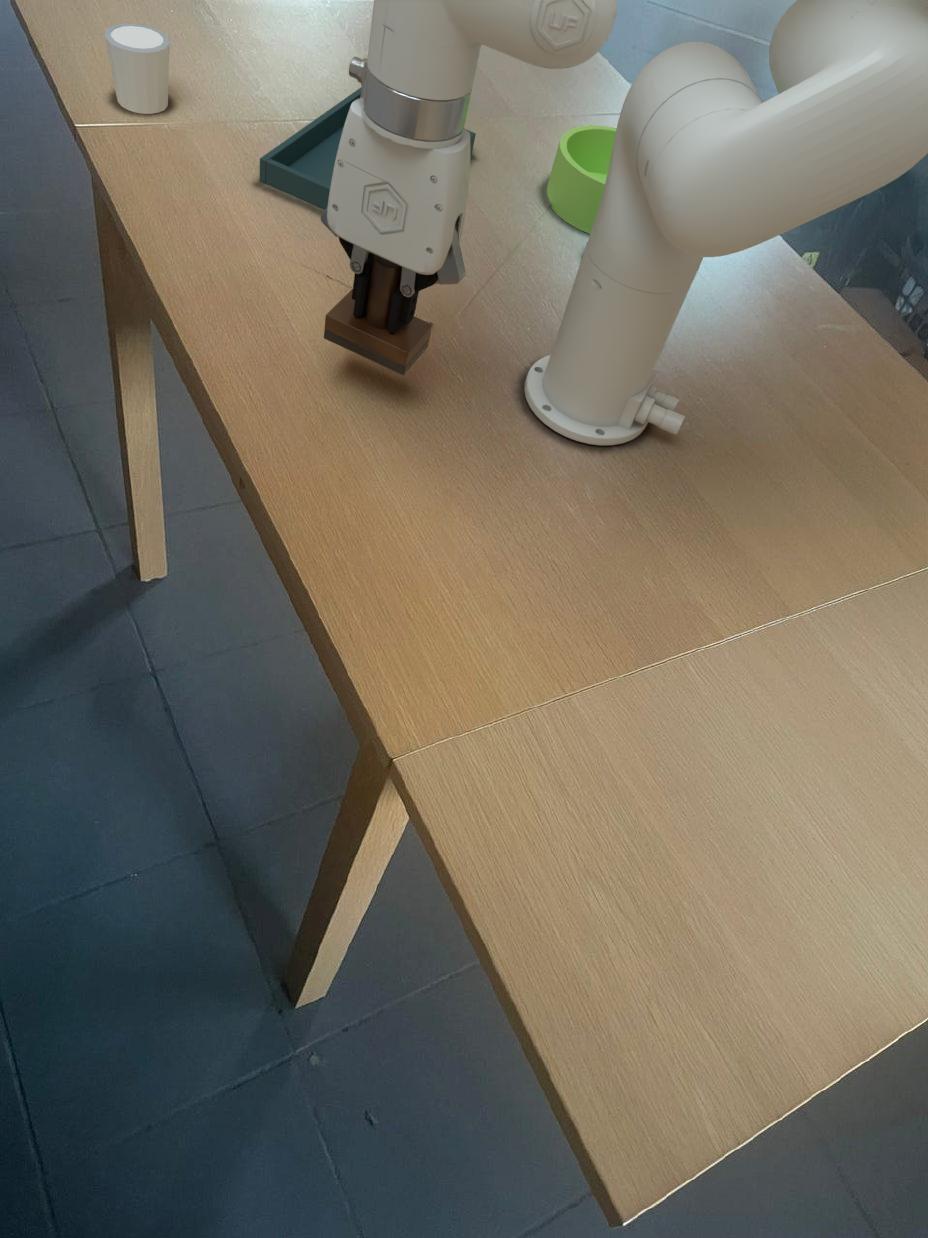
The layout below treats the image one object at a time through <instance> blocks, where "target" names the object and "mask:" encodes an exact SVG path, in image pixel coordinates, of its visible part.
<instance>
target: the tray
mask: <svg viewBox="0 0 928 1238" xmlns="http://www.w3.org/2000/svg"><path fill="white" fill-rule="evenodd" d="M360 96H361V87H359V88H358V89H356V90H355V91H354V92H352V93H351V94H349V95H348V96H347V97H344V99H342V100H341V101H340V102H338V103H336V104H335V105H334V106H332V107H330V109H328V110H327V111H325V112H324V113H322V114H321V115H320V116H318V117H317V118H315V119H314V120H312V121H311V122H309V123H308V124H306V125H305V126H304V127H302V128H301V129H299V130H298V131H296V132H295V133H294V134H292V135H291V136H289V137H288V138H287V139H285V140H284V141H282V142H281V143H280V144H277V146H275V147H274V148H273V149H271V150H270V151H268V152H267V153H265V154H264V155H263V156H261V157H260V158H259V182H261V183H263V184H265V185H267V186H270V187H272V188H274V189H276V190H278V191H281V192H283V193H285V194H288V195H290V196H291V197H292V196H293V197H295V198H297V199H299V200H302V201H303V202H305V203H308V204H310V205H312V206H315V207H317V208H319V209H322V210H325V209H326V208H327V206H328V200H329V193H330V187H331V181H332V175H333V170H334V165H335V160H336V155H337V151H338V147H339V143H340V139H341V135H342V132H343V128H344V124H345V121H346V118H347V115H348V112H349V109H350V106H351V104H352V102H354V101H355V100H357V99H359V98H360ZM465 129H466V128H465ZM466 130H467V131H468V132H469V133H470V156H471V155H472V154H473V150H474V146H475V145H474V144H475V141H476V140H475V139H476V135H477V134H476V133H475V132H474V131H471V130H469V129H466Z"/></svg>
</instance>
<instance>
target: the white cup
mask: <svg viewBox="0 0 928 1238" xmlns="http://www.w3.org/2000/svg"><path fill="white" fill-rule="evenodd" d="M104 39H105V44H106V49H107V53H108V54H107V55H108V60H109V64H110V70H111V76H112V81H113V85H114V90H115V96H116V100H117V103H118V104H119V105H120V106H121V108H123V109H125V110H127V111H129V112H132V113H136V114H141V115H152V114H159V113H161V112H163V111H165V110H166V109H167V108H168V106H169V83H170V81H169V80H170V79H169V78H170V77H169V76H170V47H171V46H170V44H171V43H170V38H169V37H168V35H167V34H166V33H165V32H163V31H162V30H159V29H158V28H156V27H154V26H149V25H146V24H141V23H131V22H128V23H117V24H115V25H112V26H109V27H108V28H107V29H106V30H105V31H104Z"/></svg>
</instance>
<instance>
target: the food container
mask: <svg viewBox="0 0 928 1238" xmlns="http://www.w3.org/2000/svg"><path fill="white" fill-rule="evenodd" d="M616 129H617V127H612V126H606V125H592V124H589V125H580V126H577V127H573V128H570V129H569V130H566V131H565V132H564V133H563V134H562V135H561V137H560V140H559V143H558V146H557V150H556V154H555V157H554V160H553V164H552V168H551V171H550V175H549V179H548V183H547V186H546V194H547V197H548V200H549V202H550V204H549V206H550V208H551V209H552V211H553V212H554V213H555V214H556V215H557V216H558V217H559V218H561V219H562V220H563V221H564V222H565V223H567V224H569V225H571V226H572V227H574V228H575V229H577V230H580V231H582V232H584V233H586V234H589V235H590V233H591V230H592V227H593V224H594V221H595V218H596V215H597V211H598V208H599V205H600V201H601V198H602V194H603V190H604V186H605V182H606V178H607V173H608V169H609V164H610V159H611V153H612V148H613V143H614V138H615V134H616Z"/></svg>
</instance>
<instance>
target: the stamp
mask: <svg viewBox="0 0 928 1238" xmlns="http://www.w3.org/2000/svg"><path fill="white" fill-rule="evenodd" d="M401 274H402V266H400V265H397V264H395V263H393V262H391V261H389V260H386V259H384V258H382V257H380V256H378V255H375V254H374V258H373V265H372V272H371V279H370V286H369V293H368V300H367V307H366V314H365V315H364V316H363V317H360V318H358V317H356V316H354V315H353V312H354V305H355V300H353V299H352V291H353V288H352V289H351V290H349V291H348V293H346V294H345V295H344V296H343V297H342V298H341V299H340V300H339V302H337V303H336V304H335V305H334V306H333V307H332V308H331V309H330V310H329V311H327V313H326V314H325V318H324V319H325V320H324V328H323V329H324V331H323V339H324V340H326V341H328V342H330V343H333V344H335V345H337V346H339V347H341V348H343V349H346V350H348V351H350V352H353V353H354V354H356V355H358V356H360V357H363V358H364V359H367V360H368V361H372V362H374V363H375V364H377V365H380V366H382V367H384V368H385V369H388V370H391V371H393V372H395V373H396V374H399V375H401V376H405V375H406V373H408V371H409V370H410V369H411V367H412V366H414V364H415V363H416V362H417V360H418V359H419V358H420V357H421V356H422V354H423V353H424V352H425V351H426V350H427V348H428V347H429V344H430V343H429V342H430V339H431V334H432V329H433V323H430V322H428V321H426V320H424V319H422V318H419V317H417V316H415V315H414V317H413V319H412V320H411V322H410V323H409V324H408V325H407V324H405V323H404V324H403V326H402V327H401V328H400V329H399V330H398V331H397V332H396V333H395V334H392V333H390V332H388V330H387V325H388V319H389V313H390V307H391V301H392V295H393V293H394V291H395V290H396V289H397V288H399V285H400V283H401Z"/></svg>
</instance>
